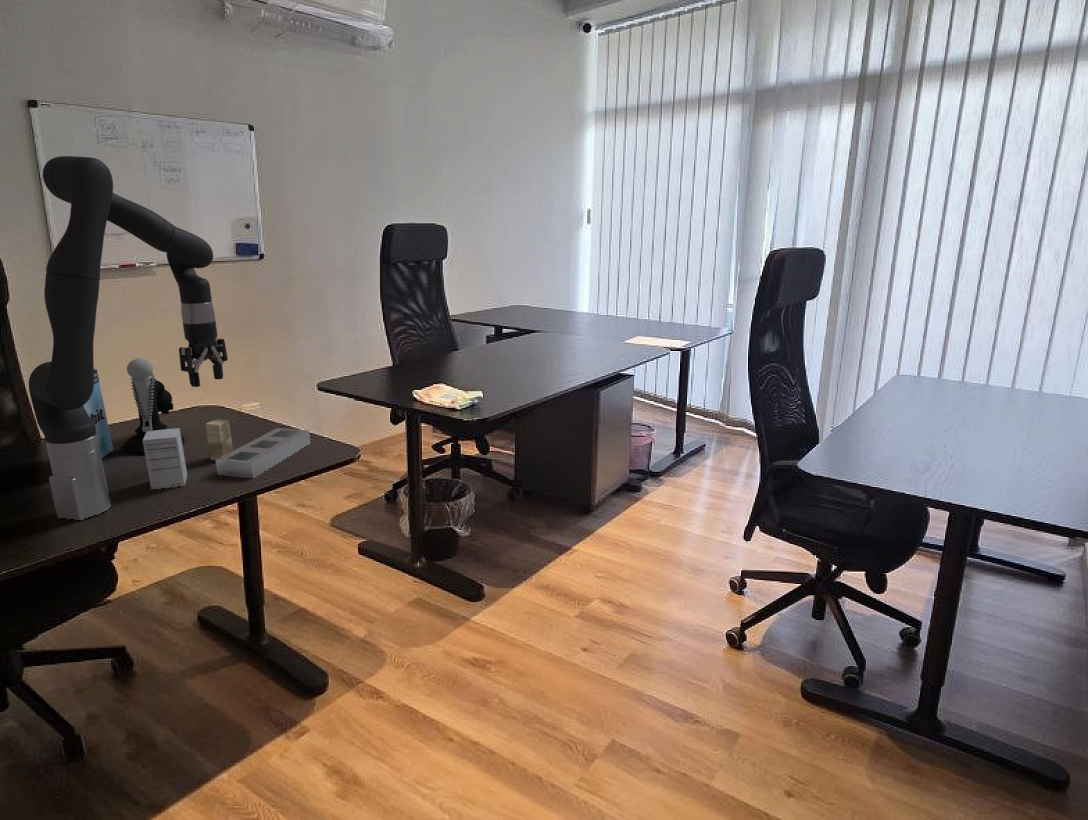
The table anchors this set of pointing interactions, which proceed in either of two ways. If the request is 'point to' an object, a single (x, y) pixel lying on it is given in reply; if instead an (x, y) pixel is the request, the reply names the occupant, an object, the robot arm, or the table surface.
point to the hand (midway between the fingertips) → (207, 382)
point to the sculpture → (146, 403)
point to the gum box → (99, 417)
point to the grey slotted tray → (262, 453)
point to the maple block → (219, 438)
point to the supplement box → (165, 458)
